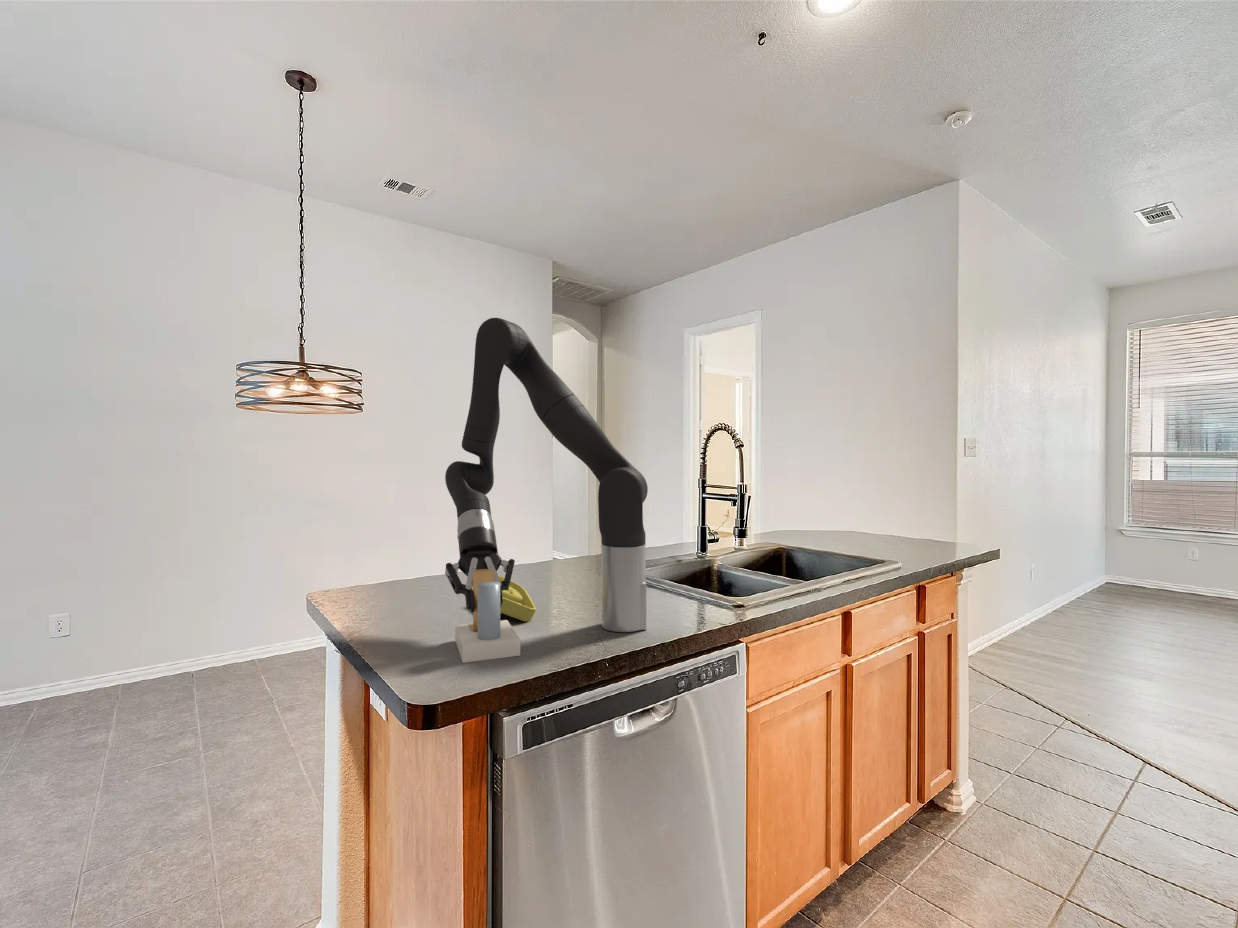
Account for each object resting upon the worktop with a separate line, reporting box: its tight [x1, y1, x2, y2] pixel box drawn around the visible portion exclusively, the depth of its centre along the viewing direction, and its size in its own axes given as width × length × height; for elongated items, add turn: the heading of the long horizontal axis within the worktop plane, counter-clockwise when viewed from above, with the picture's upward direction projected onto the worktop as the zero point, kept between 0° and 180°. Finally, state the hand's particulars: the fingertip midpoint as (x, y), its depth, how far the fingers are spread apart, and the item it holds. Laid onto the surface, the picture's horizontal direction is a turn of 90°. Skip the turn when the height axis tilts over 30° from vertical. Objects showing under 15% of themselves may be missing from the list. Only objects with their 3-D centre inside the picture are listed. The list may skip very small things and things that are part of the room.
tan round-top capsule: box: [472, 569, 494, 632], centre depth 111 cm, size 4×4×12 cm
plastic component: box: [498, 574, 537, 623], centre depth 132 cm, size 20×7×10 cm
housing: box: [454, 582, 521, 664], centre depth 108 cm, size 13×10×13 cm
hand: (485, 608), depth 109 cm, fingers closed on tan round-top capsule, 4 cm apart
